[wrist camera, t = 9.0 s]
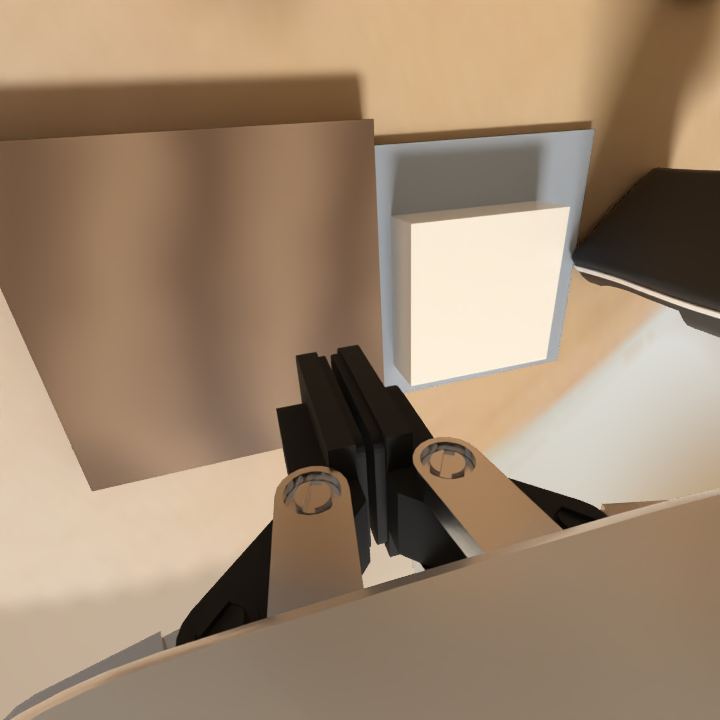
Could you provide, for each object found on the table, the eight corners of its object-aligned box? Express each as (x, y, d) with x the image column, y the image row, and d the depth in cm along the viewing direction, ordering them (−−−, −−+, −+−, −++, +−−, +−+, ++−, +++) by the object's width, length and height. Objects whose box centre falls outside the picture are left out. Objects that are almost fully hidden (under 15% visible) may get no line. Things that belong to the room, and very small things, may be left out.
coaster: (536, 200, 23) (570, 206, 21) (519, 341, 26) (546, 358, 24) (390, 215, 21) (410, 224, 19) (393, 364, 24) (410, 386, 22)
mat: (590, 129, 22) (594, 129, 22) (554, 358, 28) (557, 360, 28) (363, 146, 19) (365, 146, 19) (376, 395, 25) (378, 398, 25)
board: (362, 120, 19) (373, 118, 18) (377, 410, 26) (386, 424, 25) (-41, 144, 16) (-65, 145, 14) (99, 471, 22) (92, 491, 21)
